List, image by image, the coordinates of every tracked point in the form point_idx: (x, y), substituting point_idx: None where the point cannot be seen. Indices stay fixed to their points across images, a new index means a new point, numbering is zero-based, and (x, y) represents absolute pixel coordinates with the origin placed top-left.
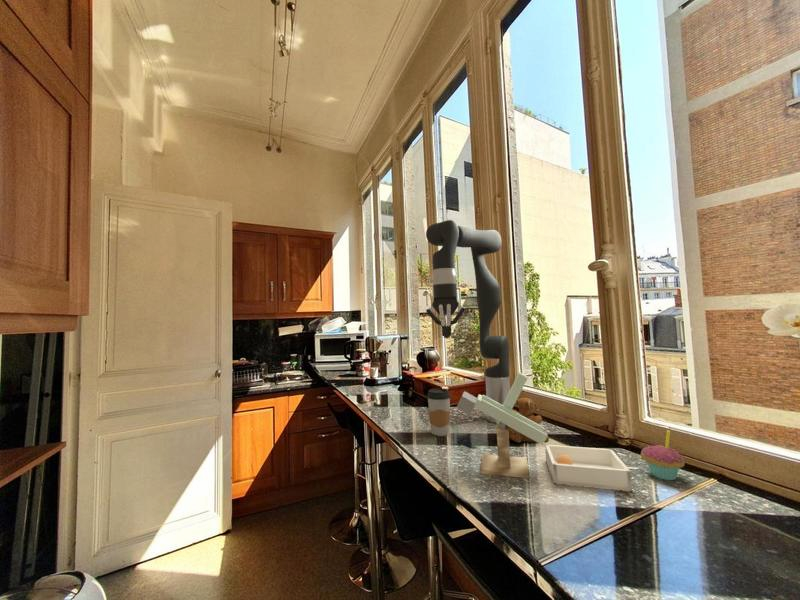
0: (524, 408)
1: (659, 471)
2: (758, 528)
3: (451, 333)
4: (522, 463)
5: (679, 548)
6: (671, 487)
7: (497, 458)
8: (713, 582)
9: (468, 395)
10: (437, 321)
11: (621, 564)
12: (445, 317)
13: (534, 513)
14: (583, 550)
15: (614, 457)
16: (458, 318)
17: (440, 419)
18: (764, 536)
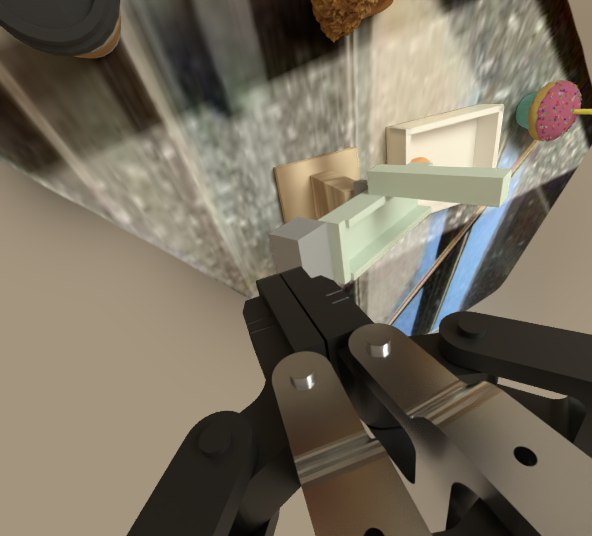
0: None
1: (526, 128)
2: (535, 210)
3: (337, 286)
4: (351, 178)
5: (463, 277)
6: (516, 149)
7: (308, 177)
8: (464, 304)
9: (313, 257)
10: (253, 527)
11: (418, 321)
12: (383, 464)
13: (362, 294)
14: (396, 321)
15: (493, 140)
16: (548, 416)
17: (102, 53)
18: (530, 222)
